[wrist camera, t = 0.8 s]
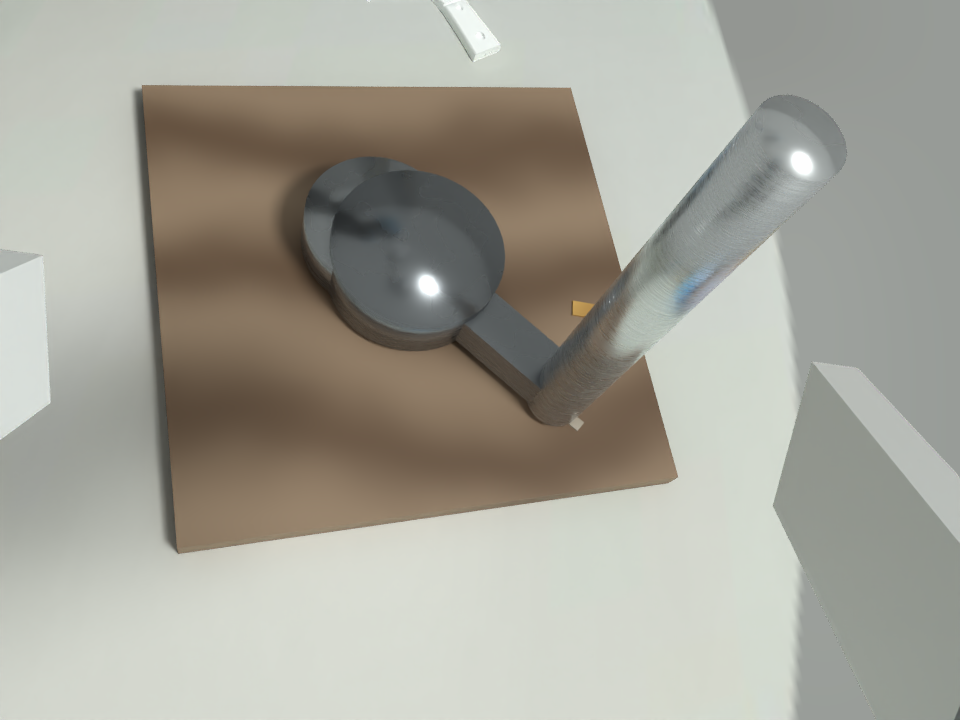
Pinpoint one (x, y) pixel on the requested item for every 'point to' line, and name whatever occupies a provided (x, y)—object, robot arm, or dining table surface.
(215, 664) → the dining table surface
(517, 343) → the crank handle
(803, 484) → the robot arm
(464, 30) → the butcher knife
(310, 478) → the dial plate
